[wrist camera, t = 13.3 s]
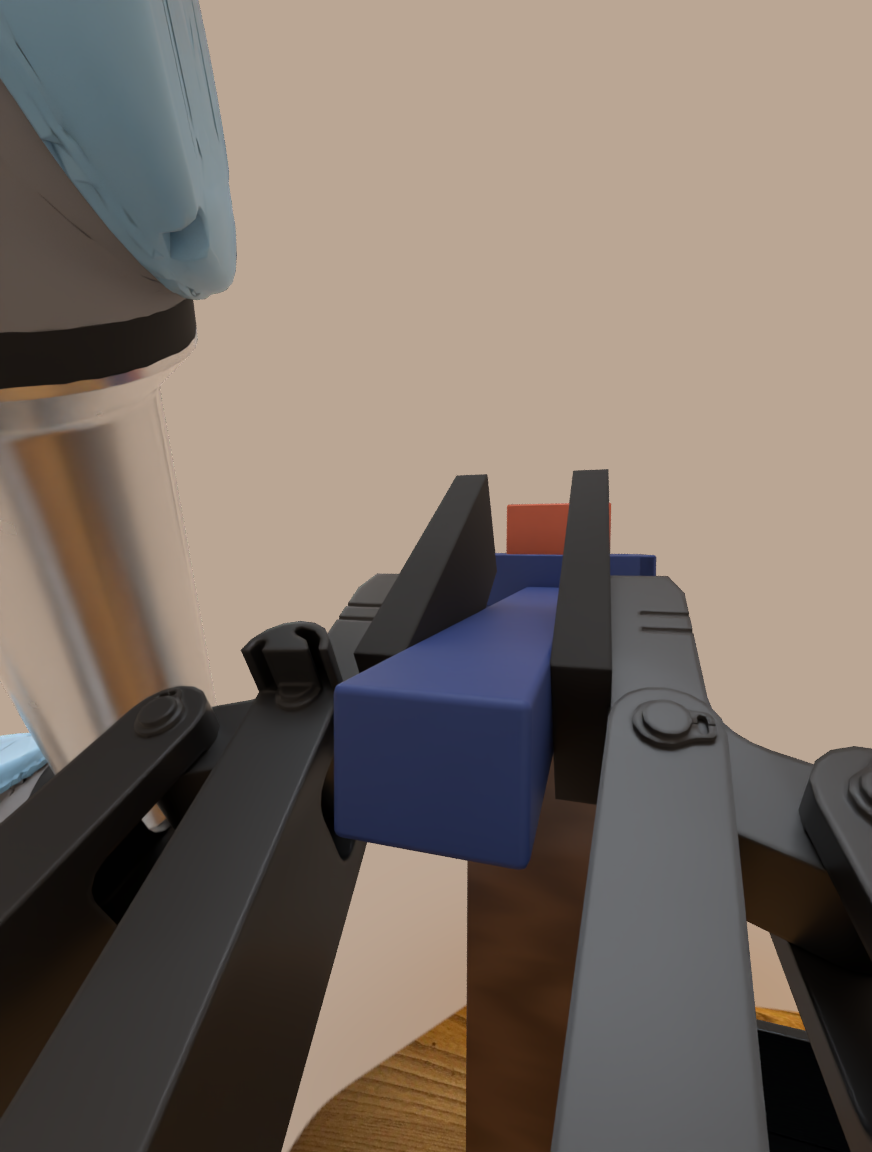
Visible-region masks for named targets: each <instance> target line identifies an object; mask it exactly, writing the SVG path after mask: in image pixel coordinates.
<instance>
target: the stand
mask: <svg viewBox="0 0 872 1152" xmlns="http://www.w3.org/2000/svg"><path fill="white" fill-rule="evenodd" d="M596 806H597V805H594V804H587V803H580V802H573V801H566V800H558V799H555V781H554V758H553V757H552V762H551V766H550V771H549V775H548V780H547V785H546V789H545V794H544V798H543V803H542V808H541V812H540V817H539V821H538V826H537V830H536V835H535V840H534V844H533V849H532V853H531V858H530V861H529V863H528V865H527V867H526V868H525V869H521V870H516V869H510V868H505V867H499V866H494V865H489V864H483V863H478V862H472V861H468V869H467V870H468V872H467V875H468V876H467V879H468V880H467V881H468V882H467V1053H466V1152H551V1144H552V1137H553V1129H554V1122H555V1114H556V1107H557V1099H558V1092H559V1084H560V1077H561V1069H562V1062H563V1054H564V1047H565V1039H566V1032H567V1024H568V1017H569V1009H570V1002H571V994H572V987H573V979H574V972H575V964H576V957H577V949H578V941H579V934H580V926H581V919H582V911H583V904H584V896H585V889H586V881H587V874H588V866H589V859H590V851H591V844H592V836H593V829H594V821H595V814H596Z"/></svg>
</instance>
